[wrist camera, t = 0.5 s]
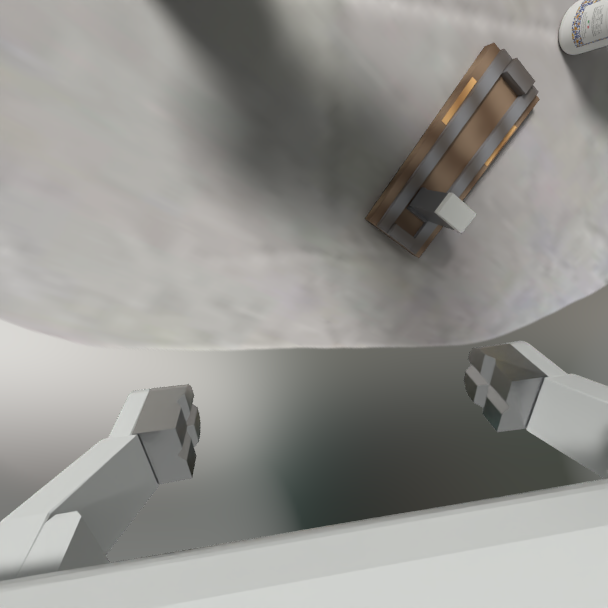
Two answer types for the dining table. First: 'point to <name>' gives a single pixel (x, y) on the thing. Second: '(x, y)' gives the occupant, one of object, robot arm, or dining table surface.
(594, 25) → the bath foam
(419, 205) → the fader knob
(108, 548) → the robot arm
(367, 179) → the dining table surface
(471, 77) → the fader console
